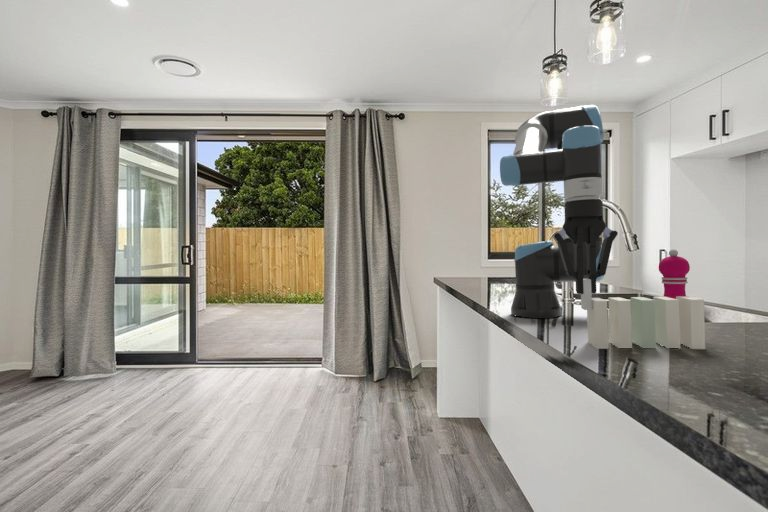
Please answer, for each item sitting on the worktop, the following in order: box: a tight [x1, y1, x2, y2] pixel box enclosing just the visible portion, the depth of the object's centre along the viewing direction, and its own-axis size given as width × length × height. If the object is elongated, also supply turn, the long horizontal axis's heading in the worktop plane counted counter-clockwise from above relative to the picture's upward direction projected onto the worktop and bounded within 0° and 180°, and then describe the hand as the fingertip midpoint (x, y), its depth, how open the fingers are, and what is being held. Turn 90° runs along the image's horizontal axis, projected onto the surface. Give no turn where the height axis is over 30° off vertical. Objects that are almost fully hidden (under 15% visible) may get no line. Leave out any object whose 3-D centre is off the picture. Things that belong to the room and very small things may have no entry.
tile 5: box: [676, 295, 706, 350], centre depth 89 cm, size 6×2×10 cm, turn 169°
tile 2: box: [607, 296, 633, 349], centre depth 92 cm, size 6×2×10 cm, turn 169°
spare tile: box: [630, 296, 657, 349], centre depth 91 cm, size 6×2×10 cm, turn 169°
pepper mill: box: [658, 249, 691, 299], centre depth 100 cm, size 7×7×20 cm
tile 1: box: [586, 297, 610, 350], centre depth 92 cm, size 6×2×10 cm, turn 169°
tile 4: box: [652, 296, 681, 350], centre depth 90 cm, size 6×2×10 cm, turn 169°
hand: (586, 308), depth 93 cm, fingers closed
